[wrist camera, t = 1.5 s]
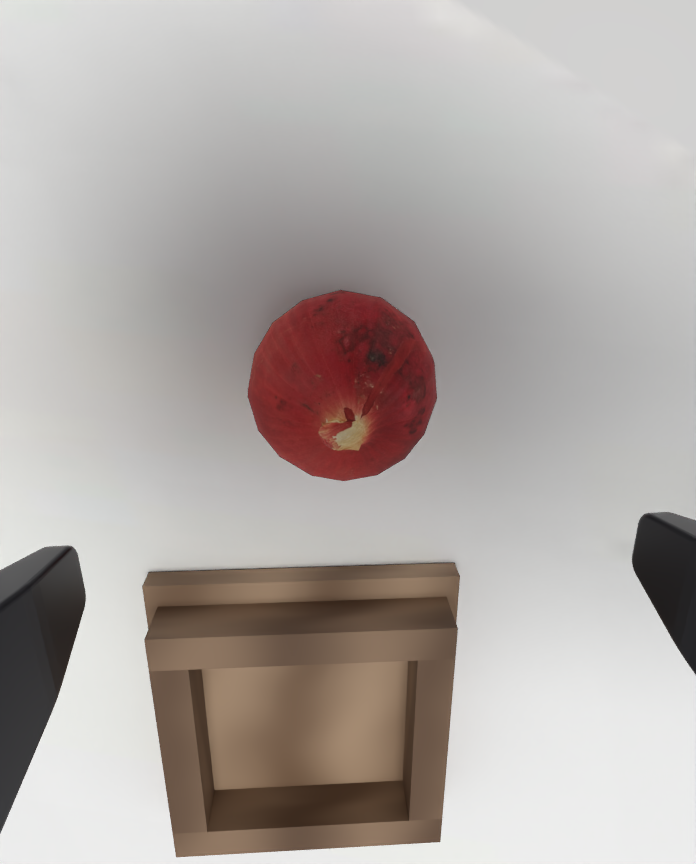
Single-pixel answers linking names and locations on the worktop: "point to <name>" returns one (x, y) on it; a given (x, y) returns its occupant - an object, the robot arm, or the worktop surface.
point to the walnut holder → (303, 704)
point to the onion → (342, 385)
